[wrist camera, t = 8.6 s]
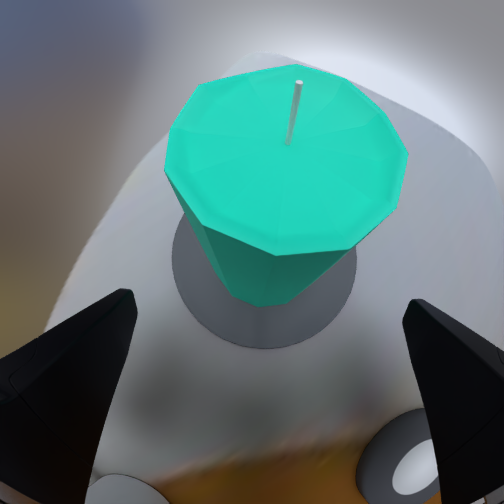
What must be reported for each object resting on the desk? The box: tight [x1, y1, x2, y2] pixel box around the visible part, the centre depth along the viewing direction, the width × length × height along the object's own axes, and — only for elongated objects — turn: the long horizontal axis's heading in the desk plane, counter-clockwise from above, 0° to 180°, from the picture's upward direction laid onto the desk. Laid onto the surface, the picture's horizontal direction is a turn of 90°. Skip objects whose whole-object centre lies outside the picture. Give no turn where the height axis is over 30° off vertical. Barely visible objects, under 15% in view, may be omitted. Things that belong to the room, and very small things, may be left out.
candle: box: [164, 64, 408, 307], centre depth 10 cm, size 6×6×12 cm
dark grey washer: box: [356, 408, 440, 504], centre depth 12 cm, size 8×8×2 cm
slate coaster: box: [172, 213, 357, 348], centre depth 17 cm, size 11×11×1 cm
